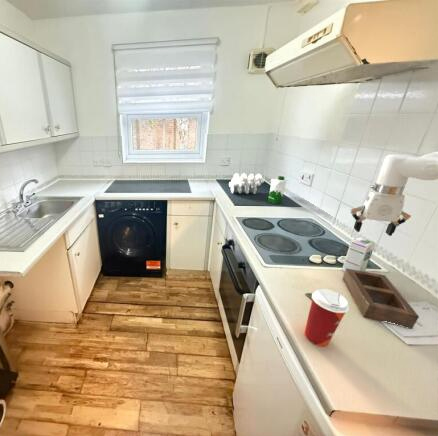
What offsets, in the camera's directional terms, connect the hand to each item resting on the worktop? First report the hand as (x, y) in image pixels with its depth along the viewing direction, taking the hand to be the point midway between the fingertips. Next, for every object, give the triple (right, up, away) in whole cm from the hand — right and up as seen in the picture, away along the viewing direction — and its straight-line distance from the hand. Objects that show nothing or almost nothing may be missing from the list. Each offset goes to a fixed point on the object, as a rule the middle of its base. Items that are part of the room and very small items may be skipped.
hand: (372, 232), depth 92 cm
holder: (-7, -24, -8) cm, 26 cm away
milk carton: (+10, +17, +91) cm, 93 cm away
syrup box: (-1, -17, +8) cm, 19 cm away
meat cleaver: (-29, -25, -9) cm, 39 cm away
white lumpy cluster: (-5, +27, +113) cm, 116 cm away
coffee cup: (-38, -30, -22) cm, 53 cm away
